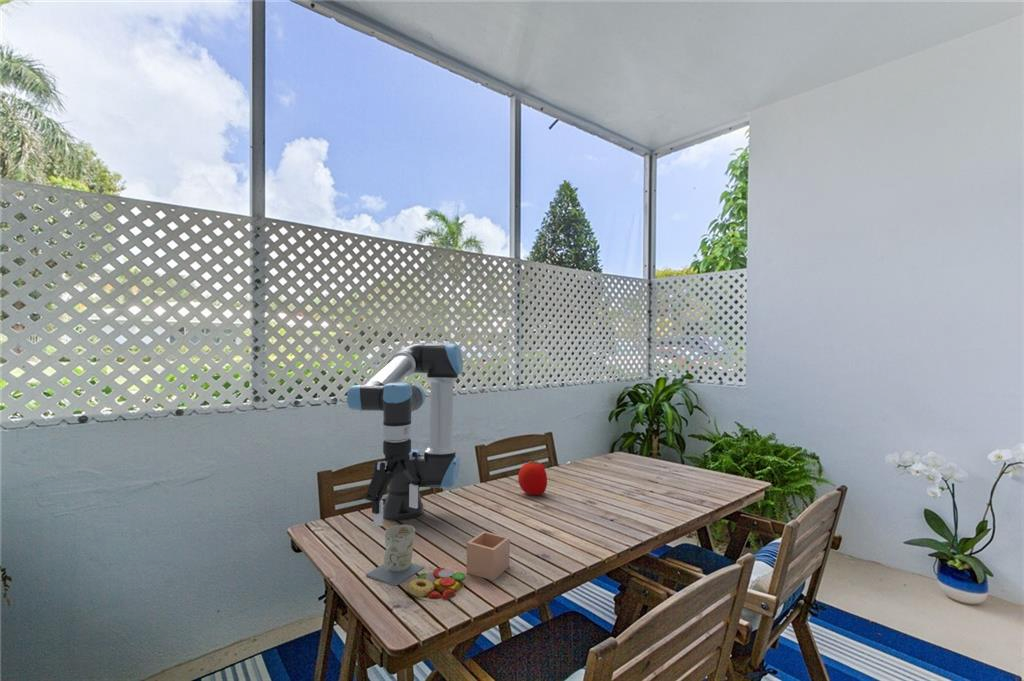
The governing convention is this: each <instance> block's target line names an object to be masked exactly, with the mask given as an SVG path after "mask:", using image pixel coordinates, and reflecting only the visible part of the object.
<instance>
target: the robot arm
mask: <svg viewBox="0 0 1024 681" xmlns="http://www.w3.org/2000/svg"><path fill="white" fill-rule="evenodd" d="M462 356H463V355H462V351H461V348H460V346H459V345H458V344H456V343H448V342H417V343H413V344H410V345H408V346H405V347H403V348H402V349H400V350H398V351H397V352H395V354H393V355H392V357H391V359H390V361H389V362H388V363H387V364H386V365H385V366H384V367H383V368H382V369H380V370H379V371H378V372H377V373H376V374H375V375H374V376H373V377H371V379H369V380H368V381H366V383H365V384H358V385H357V384H354V385H351V386H350V387H349V389H348V390H347V394H346V403H347V407H348V408H349V409H350V410H352V411H353V410H354V411H360V412H364V411H366V412H371V411H372V412H374V411H375V412H376V411H377V412H383V419H382V420H383V423H382V424H383V425H382V439H383V442H382V453H383V455H384V461H378V460H377V461H376V462H375V463H374V471H373V474H372V476H371V480H370V483H369V486H368V489H367V492H366V495H365V500H366V501H370V502H371V513H372V515H373V518H372V519H373V522H372V523H373V525H376V526H378V527H383V525H384V519H385V520H390V521H406V520H411V519H415V518H417V517H420V516H421V515H423V514H424V509H425V508H424V503H422V496H421V494H420V488H437V489H438V488H439V489H450V488H453V487H454V486H455V484H456V482H457V480H458V476H459V472H460V465H461V459H460V456H459V455H456V450H455V448H454V447H453V444H452V443H453V414H454V413H453V412H454V411H453V410H454V384H455V382H456V381H457V380H458V379H459V378H458V377H459V375H461V374H462V373H463V364H464V363H463V362H464V361H463V357H462ZM413 374H426V379H427V380H428V381H429V382H430V401H429V426H428V427H429V428H428V429H429V431H428V447H427V448H426V449H424V453H423V454H421V452H420V450H419V449H412V440H411V439H410V438H411V437H412V412H414V411H415V412H416V411H417V410H419V409H420V408H421V407H422V406H423V405H424V404H425V401H426V393H425V391H424V389H423V388H422V387H421V386H419V385H417V384H411V383H409V382H402V381H403V380H404V379H405V378H406V377H409V376H411V375H413ZM386 491H387V495H386V498H385V500H382V498H383V496H384V494H385V492H386Z"/></svg>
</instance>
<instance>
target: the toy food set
mask: <svg viewBox="0 0 1024 681" xmlns="http://www.w3.org/2000/svg"><path fill="white" fill-rule="evenodd" d="M466 577H467V576H466V574H465V573H464V572H460V571H459V572H454V571H453V570H451V569H449V568H447V569H446V568H443V567H437V568H435V569H433V571H430V572H428V573H427V572H422V573H420V574H418V577H417V578H414V579H412V580H411V581H409V583H408V585H407V592H409V593H410V594H411V595H413V596H414V597H416V598H418V599H419V600H422V601H426V602H433V603H434V602H442V601H446V600H450V599H452V598H455V597H456V596H458V595H459V594H461V593H462V591H463V590H464V587H465V584H464V580H465V579H466ZM456 591H457V592H456ZM441 593H442V594H441ZM427 597H428V598H427Z"/></svg>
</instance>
